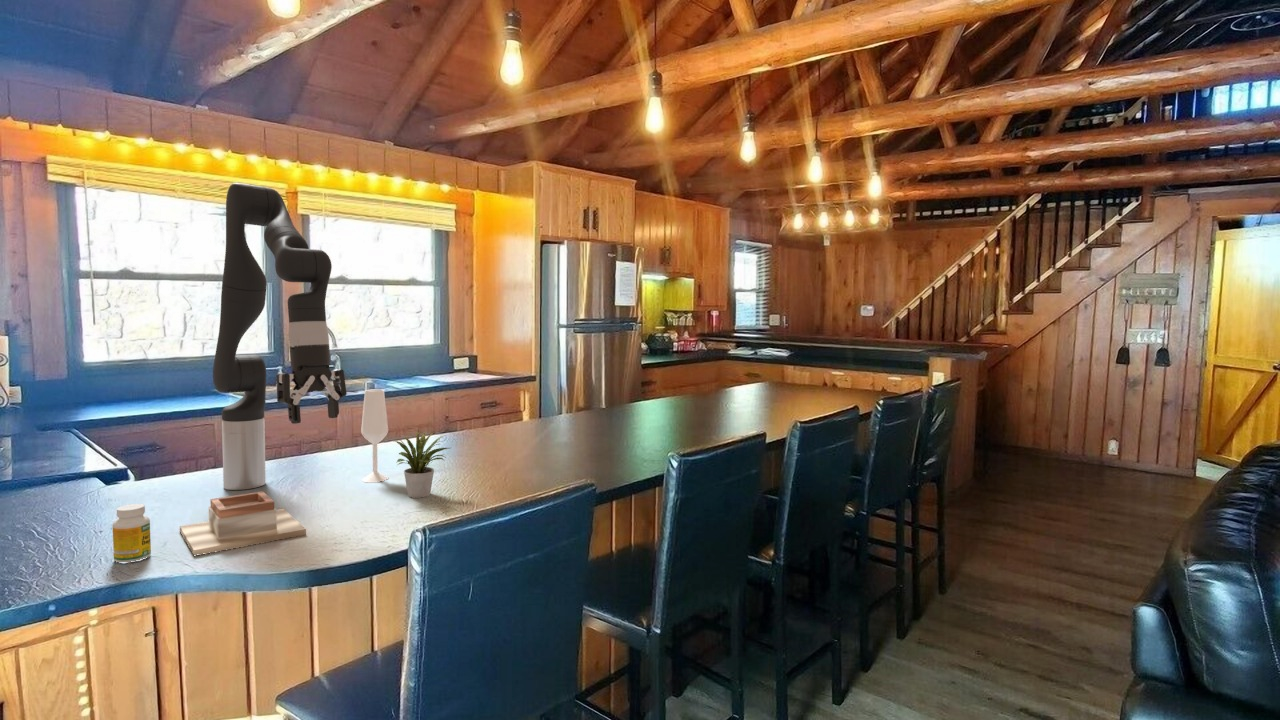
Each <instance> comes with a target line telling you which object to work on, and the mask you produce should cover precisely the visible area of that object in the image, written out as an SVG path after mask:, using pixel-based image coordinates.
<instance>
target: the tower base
mask: <svg viewBox="0 0 1280 720" xmlns="http://www.w3.org/2000/svg"><path fill="white" fill-rule="evenodd" d="M180 532H181V533H180ZM179 533H180V535H181V534H182V535H183V537H184V538H183V537H182V538H183V540H184V539H185V540H184V542H185V541H186V542H187V544H188V545H187V544H186V545H187V547H188V546H189V547H188V549H189V548H190V549H191V551H192V552H191V551H190V552H191V554H192V553H193V554H194V555H197V554H203V553H209V552H215V551H220V550H226V549H231V550H234V549H233V548H236V549H240V548H239V547H241V548H245V547H244V546H246V547H249V546H248V545H251V546H254V545H253V544H256V545H259V544H258V543H261V544H265V543H264V542H266V543H270V542H269V541H272V542H275V541H274V540H277V541H280V540H279V539H282V540H285V539H284V538H287V539H290V538H289V537H292V538H296V536H297V537H301V536H306V535H307V528H305V526H303V525H302V524H301V523H300V522H299V521H298V520H296V518H294V517H293V516H292V515H291V513H289V512H288V511H287V510H286V509H285V508H281V509H276V507H275V501H274V500H273V499H272V498H271V497H270V496H269V495H268V494H266V493H265V492H264V491H263V490H262V491H256V492H251V493H243V494H237V495H230V496H224V497H223V496H222V497H216V498H210V506H208V521H202V522H196V523H190V524H185V525H179ZM182 535H181V536H182ZM186 542H185V543H186ZM190 549H189V550H190ZM226 551H227V550H226ZM220 552H221V551H220ZM215 553H216V552H215ZM193 554H192V555H193Z"/></svg>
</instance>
